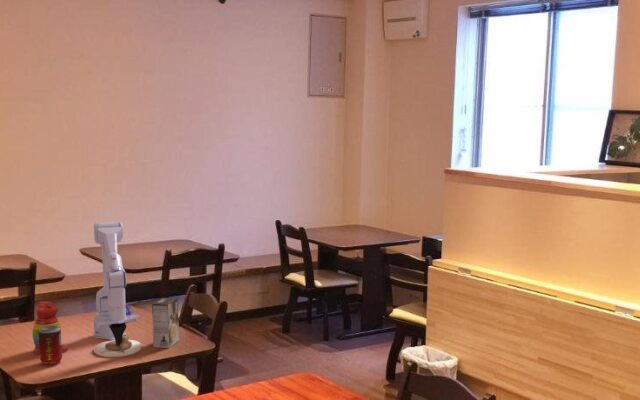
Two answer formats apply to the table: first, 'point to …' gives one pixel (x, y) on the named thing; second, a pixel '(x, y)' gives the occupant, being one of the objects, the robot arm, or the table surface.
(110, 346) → the dial
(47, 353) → the soda can
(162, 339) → the coffee box
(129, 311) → the blue checkered cloth
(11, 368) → the table surface
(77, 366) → the table surface
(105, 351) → the base
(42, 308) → the stacking bear
